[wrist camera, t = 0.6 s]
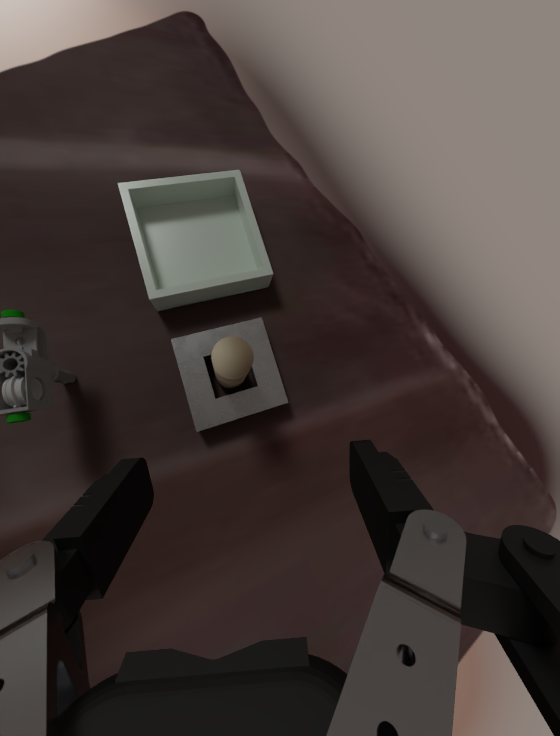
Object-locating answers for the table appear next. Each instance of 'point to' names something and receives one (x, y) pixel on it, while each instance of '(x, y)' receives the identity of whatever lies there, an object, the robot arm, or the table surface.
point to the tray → (195, 238)
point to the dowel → (232, 361)
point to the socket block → (198, 384)
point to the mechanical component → (26, 367)
